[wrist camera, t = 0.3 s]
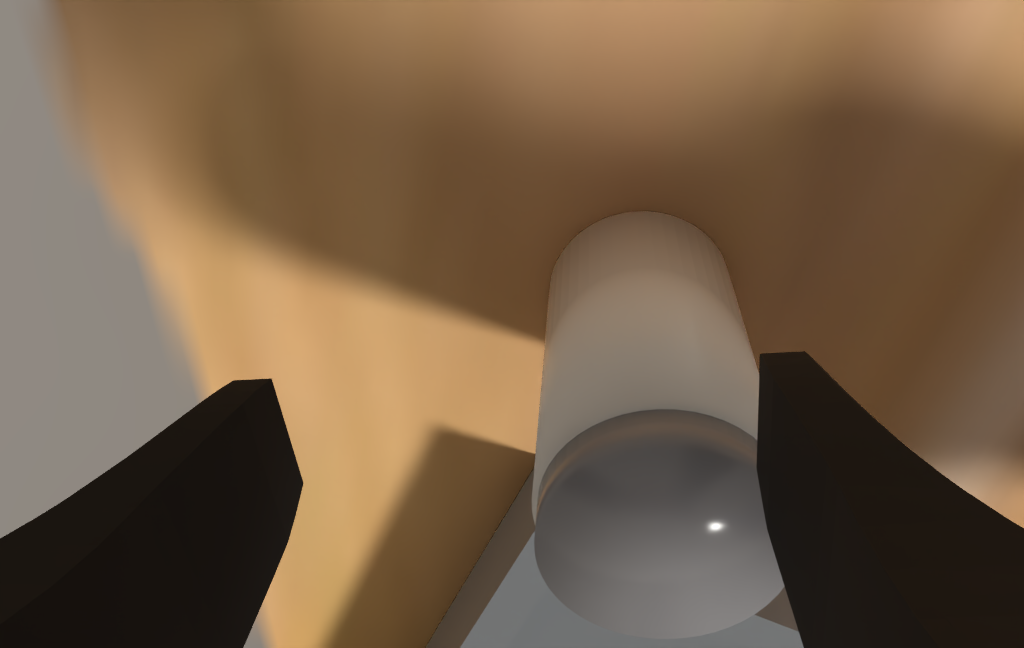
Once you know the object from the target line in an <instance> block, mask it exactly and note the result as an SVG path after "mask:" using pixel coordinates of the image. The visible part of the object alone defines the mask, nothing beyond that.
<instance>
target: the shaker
mask: <svg viewBox="0 0 1024 648" xmlns="http://www.w3.org/2000/svg"><path fill="white" fill-rule="evenodd" d="M758 401H759V372H758V369H757V365H756V362H755V359H754V355H753V352H752V349H751V345H750V342H749V339H748V335H747V332H746V329H745V325H744V322H743V319H742V315H741V312H740V309H739V305H738V302H737V299H736V295H735V292H734V289H733V285H732V282H731V279H730V275H729V272H728V269H727V266H726V263H725V261H724V258H723V256H722V254H721V253H720V251H719V249H718V248H717V246H716V245H715V244H714V243H713V241H712V240H711V239H710V238H709V237H708V236H707V235H706V234H705V233H704V232H702V231H701V230H700V229H698V228H697V227H696V226H694V225H692V224H691V223H689V222H687V221H685V220H683V219H680V218H678V217H675V216H672V215H668V214H664V213H659V212H650V211H634V212H627V213H621V214H617V215H613V216H610V217H607V218H605V219H602V220H600V221H598V222H596V223H594V224H592V225H590V226H588V227H587V228H586V229H584V230H583V231H581V232H580V233H579V234H578V235H577V236H576V237H574V238H573V239H572V240H571V241H570V242H569V244H568V245H567V246H566V247H565V248H564V250H563V251H562V253H561V255H560V256H559V258H558V260H557V262H556V264H555V266H554V269H553V272H552V276H551V280H550V288H549V300H548V311H547V323H546V335H545V347H544V359H543V371H542V383H541V395H540V407H539V419H538V431H537V442H536V454H535V466H534V478H533V490H532V514H533V519H534V524H535V536H534V550H535V557H536V562H537V566H538V568H539V571H540V573H541V576H542V578H543V579H544V581H545V583H546V584H547V586H548V588H549V589H550V590H551V591H552V593H553V594H554V595H555V596H556V597H557V598H558V599H559V600H560V601H561V602H562V603H563V604H564V605H565V606H566V607H567V608H569V609H570V610H572V611H573V612H574V613H576V614H577V615H578V616H580V617H582V618H584V619H586V620H587V621H589V622H591V623H593V624H596V625H598V626H600V627H603V628H605V629H608V630H611V631H614V632H617V633H621V634H626V635H630V636H635V637H643V638H651V639H677V638H688V637H695V636H701V635H705V634H709V633H713V632H717V631H720V630H723V629H726V628H729V627H731V626H733V625H735V624H738V623H740V622H742V621H744V620H746V619H747V618H749V617H751V616H753V615H754V614H756V613H757V612H759V611H760V610H761V609H763V608H764V607H765V606H767V605H768V604H769V603H770V602H771V601H772V600H773V599H774V598H775V597H776V596H777V595H778V594H779V593H780V592H781V590H782V589H783V588H784V583H783V580H782V577H781V573H780V570H779V567H778V563H777V560H776V557H775V554H774V550H773V547H772V544H771V541H770V537H769V534H768V530H767V526H766V520H765V515H764V509H763V504H762V498H761V492H760V486H759V480H758V474H757V468H756V465H757V433H758Z"/></svg>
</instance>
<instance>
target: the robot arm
mask: <svg viewBox="0 0 1024 648" xmlns="http://www.w3.org/2000/svg"><path fill="white" fill-rule="evenodd" d="M756 468H757V474H758V480H759V486H760V492H761V498H762V504H763V509H764V515H765V520H766V526H767V530H768V534H769V537H770V541H771V544H772V547H773V550H774V554H775V557H776V560H777V563H778V567H779V570H780V573H781V577H782V580H783V583H784V586H785V589H786V593H787V596H788V599H789V602H790V605H791V608H792V612H793V615H794V618H795V621H796V624H797V628H798V631H799V634H800V637H801V641H802V644H803V647H804V648H1024V528H1022V527H1020V526H1019V525H1017V524H1015V523H1014V522H1012V521H1010V520H1009V519H1007V518H1006V517H1004V516H1002V515H1001V514H999V513H998V512H996V511H995V510H993V509H992V508H990V507H989V506H987V505H986V504H984V503H983V502H981V501H980V500H978V499H977V498H975V497H974V496H972V495H971V494H969V493H967V492H966V491H964V490H963V489H962V488H960V487H959V486H957V485H956V484H955V483H953V482H952V481H950V480H949V479H948V478H946V477H945V476H943V475H942V474H941V473H940V472H938V471H937V470H936V469H934V468H933V467H932V466H931V465H929V464H928V463H927V462H925V461H924V460H923V459H922V458H920V457H919V456H918V455H916V454H915V453H914V452H913V451H911V450H910V449H909V448H908V447H906V446H905V445H904V444H903V443H902V442H900V441H899V440H898V439H897V438H896V437H895V436H894V435H893V434H891V433H890V432H889V431H888V430H887V429H886V428H885V427H884V426H882V425H881V424H880V423H879V422H878V421H877V420H876V419H875V418H873V417H872V416H871V415H870V414H869V413H868V412H867V411H866V410H865V409H864V408H863V407H861V406H860V405H859V404H858V403H857V402H856V401H855V400H854V399H853V398H852V397H851V396H850V395H849V394H848V393H847V392H846V391H845V390H844V389H843V388H842V387H841V386H840V385H839V384H838V383H837V382H836V381H835V380H834V379H833V378H832V377H831V376H830V375H829V374H828V373H827V372H826V371H825V370H824V369H823V368H822V367H821V366H820V365H819V364H818V363H817V362H816V361H815V360H814V359H813V358H811V357H810V356H809V355H808V354H807V353H806V352H786V353H766V354H760V369H759V401H758V433H757V465H756ZM302 487H303V480H302V477H301V474H300V471H299V467H298V464H297V461H296V457H295V454H294V451H293V448H292V444H291V441H290V438H289V435H288V431H287V428H286V425H285V421H284V418H283V415H282V412H281V408H280V405H279V402H278V398H277V395H276V392H275V389H274V385H273V382H272V379H255V380H235V381H232V382H230V383H229V384H227V385H226V386H224V387H222V388H221V389H219V390H218V391H216V392H215V393H213V394H212V395H211V396H209V397H208V398H206V399H205V400H204V401H202V402H201V403H199V404H198V405H197V406H195V407H194V408H193V409H191V410H190V411H189V412H187V413H186V414H185V415H183V416H182V417H181V418H179V419H178V420H177V421H175V422H174V423H173V424H171V425H170V426H168V427H167V428H166V429H165V430H163V431H162V432H160V433H159V434H158V435H156V436H155V437H154V438H152V439H151V440H150V441H148V442H147V443H146V444H145V445H143V446H142V447H141V448H139V449H138V450H136V451H135V452H133V453H132V454H131V455H129V456H128V457H127V458H125V459H124V460H122V461H121V462H119V463H118V464H117V465H115V466H114V467H112V468H111V469H110V470H108V471H106V472H105V473H103V474H102V475H101V476H99V477H98V478H96V479H95V480H93V481H92V482H90V483H89V484H88V485H86V486H85V487H83V488H82V489H80V490H79V491H77V492H76V493H74V494H73V495H71V496H70V497H69V498H67V499H65V500H64V501H62V502H61V503H60V504H58V505H56V506H54V507H53V508H51V509H50V510H48V511H46V512H45V513H43V514H41V515H40V516H38V517H37V518H35V519H33V520H32V521H30V522H28V523H26V524H25V525H23V526H21V527H19V528H18V529H16V530H14V531H13V532H11V533H9V534H8V535H6V536H4V537H2V538H0V648H243V647H244V645H245V642H246V640H247V638H248V635H249V633H250V631H251V628H252V626H253V624H254V621H255V619H256V617H257V614H258V612H259V610H260V607H261V605H262V603H263V600H264V598H265V596H266V594H267V591H268V589H269V587H270V584H271V582H272V579H273V577H274V575H275V572H276V570H277V567H278V565H279V563H280V560H281V558H282V555H283V553H284V550H285V548H286V545H287V543H288V540H289V536H290V533H291V529H292V526H293V522H294V519H295V515H296V511H297V507H298V503H299V499H300V495H301V491H302Z"/></svg>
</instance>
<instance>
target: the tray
mask: <svg viewBox="0 0 1024 648" xmlns="http://www.w3.org/2000/svg"><path fill="white" fill-rule="evenodd" d="M533 478H534V469H533V470H532V472H531V474H530V475H529V477H528V479H527V480H526V482H525V484H524V485H523V487H522V489H521V490H520V492H519V493H518V495H517V497H516V498H515V500H514V502H513V503H512V505H511V507H510V508H509V510H508V512H507V513H506V515H505V517H504V518H503V520H502V522H501V523H500V525H499V527H498V528H497V530H496V531H495V533H494V535H493V536H492V538H491V540H490V541H489V543H488V545H487V546H486V548H485V550H484V551H483V553H482V555H481V556H480V558H479V560H478V561H477V563H476V565H475V566H474V568H473V570H472V571H471V573H470V574H469V576H468V578H467V579H466V581H465V583H464V584H463V586H462V588H461V589H460V591H459V593H458V594H457V596H456V598H455V599H454V601H453V603H452V604H451V606H450V608H449V609H448V611H447V613H446V614H445V616H444V617H443V619H442V621H441V622H440V624H439V626H438V627H437V629H436V631H435V632H434V634H433V636H432V637H431V639H430V641H429V642H428V644H427V646H426V647H425V648H804V647H803V644H802V641H801V637H800V634H799V631H798V628H797V624H796V621H795V618H794V615H793V612H792V608H791V605H790V602H789V599H788V596H787V593H786V589H785V586H784V588H783V589H782V590H781V592H780V593H779V594H778V595H777V596H776V597H775V598H774V599H773V600H772V601H771V602H770V603H769V604H768V605H767V606H765V607H764V608H763V609H761V610H760V611H759V612H757V613H756V614H754V615H753V616H751V617H749V618H747V619H746V620H744V621H742V622H740V623H738V624H735V625H733V626H731V627H729V628H726V629H723V630H720V631H717V632H713V633H709V634H705V635H701V636H695V637H688V638H677V639H651V638H643V637H635V636H630V635H626V634H621V633H617V632H614V631H611V630H608V629H605V628H603V627H600V626H598V625H596V624H593V623H591V622H589V621H587V620H586V619H584V618H582V617H580V616H578V615H577V614H576V613H574V612H573V611H572V610H570V609H569V608H567V607H566V606H565V605H564V604H563V603H562V602H561V601H560V600H559V599H558V598H557V597H556V596H555V595H554V594H553V593H552V591H551V590H550V589H549V588H548V586H547V584H546V583H545V581H544V579H543V578H542V576H541V573H540V571H539V568H538V566H537V562H536V557H535V550H534V536H535V524H534V519H533V514H532V490H533Z"/></svg>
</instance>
